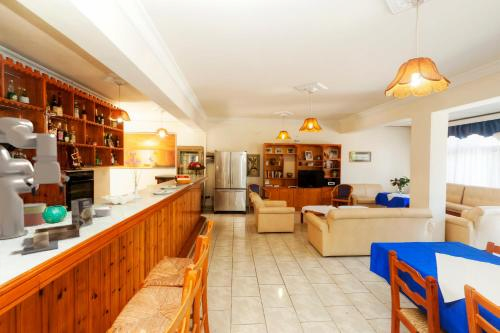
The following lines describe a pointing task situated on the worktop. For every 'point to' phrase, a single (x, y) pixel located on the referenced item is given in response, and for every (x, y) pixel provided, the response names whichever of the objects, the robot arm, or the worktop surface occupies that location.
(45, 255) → the worktop surface
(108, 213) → the ramekin
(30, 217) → the canned food
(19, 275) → the worktop surface
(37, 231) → the crate
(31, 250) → the mat
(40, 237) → the maple block
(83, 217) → the coffee box
